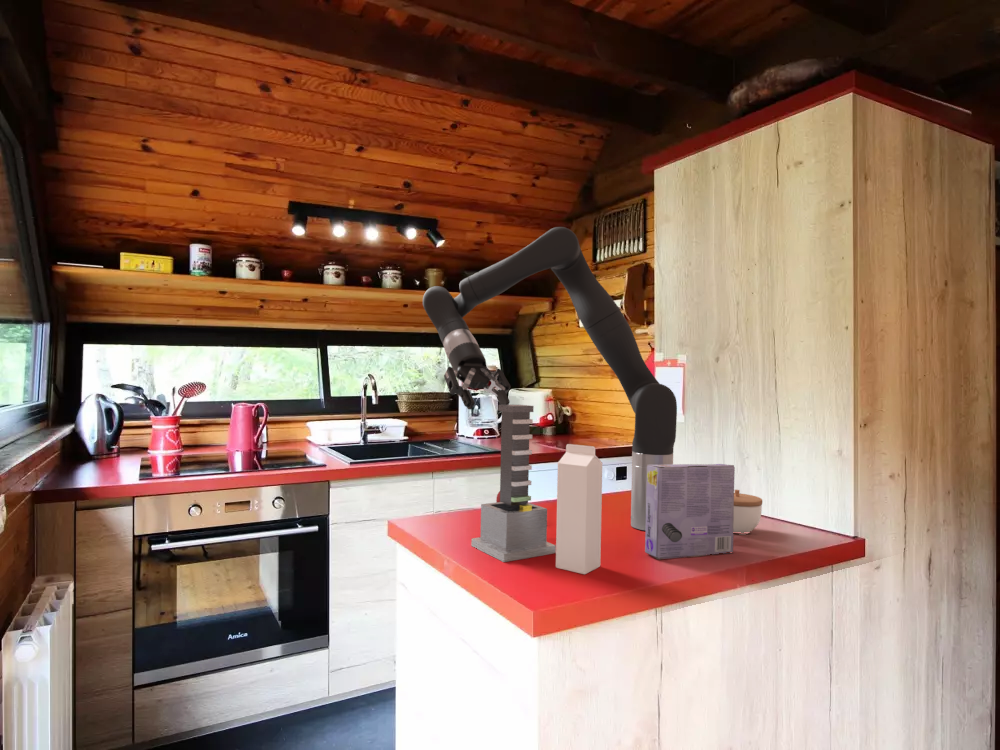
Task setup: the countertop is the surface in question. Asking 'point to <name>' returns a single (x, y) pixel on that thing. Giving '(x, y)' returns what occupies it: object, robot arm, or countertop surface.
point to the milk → (579, 510)
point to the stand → (513, 531)
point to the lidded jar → (746, 512)
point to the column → (515, 454)
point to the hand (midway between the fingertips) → (489, 406)
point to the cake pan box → (689, 510)
